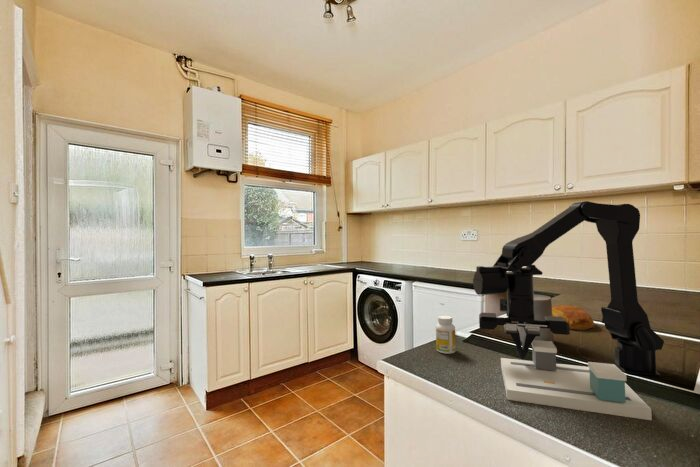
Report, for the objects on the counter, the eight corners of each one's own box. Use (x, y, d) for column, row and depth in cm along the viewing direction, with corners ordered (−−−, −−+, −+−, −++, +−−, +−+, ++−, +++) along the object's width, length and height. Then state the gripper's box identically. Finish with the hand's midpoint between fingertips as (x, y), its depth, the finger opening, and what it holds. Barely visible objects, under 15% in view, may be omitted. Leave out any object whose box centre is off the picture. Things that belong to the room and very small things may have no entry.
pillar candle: (545, 336, 105) (543, 289, 105) (559, 346, 95) (557, 295, 95) (513, 336, 106) (511, 290, 107) (523, 345, 97) (521, 295, 97)
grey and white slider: (552, 362, 78) (551, 341, 78) (557, 371, 73) (556, 348, 73) (531, 360, 80) (530, 339, 80) (535, 368, 75) (534, 346, 75)
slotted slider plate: (612, 378, 74) (611, 368, 74) (651, 420, 57) (651, 408, 57) (500, 365, 82) (500, 357, 82) (507, 399, 66) (506, 389, 66)
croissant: (537, 326, 124) (533, 305, 125) (578, 319, 124) (574, 298, 124) (560, 336, 110) (556, 313, 110) (607, 329, 109) (602, 306, 110)
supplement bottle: (449, 346, 97) (448, 314, 97) (459, 352, 92) (458, 318, 92) (433, 348, 96) (432, 315, 96) (442, 355, 91) (441, 320, 91)
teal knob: (615, 390, 64) (614, 364, 64) (627, 403, 59) (626, 375, 59) (588, 386, 65) (587, 361, 65) (597, 399, 60) (596, 372, 60)
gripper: (557, 289, 82) (559, 351, 82) (478, 287, 89) (480, 344, 89) (569, 297, 72) (571, 368, 72) (478, 294, 79) (480, 359, 79)
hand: (522, 358), depth 78 cm, fingers closed
